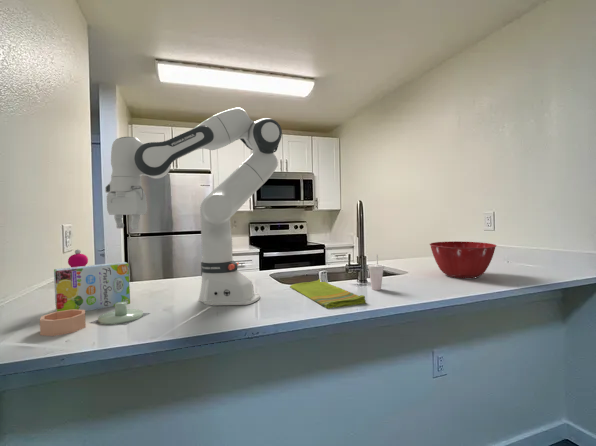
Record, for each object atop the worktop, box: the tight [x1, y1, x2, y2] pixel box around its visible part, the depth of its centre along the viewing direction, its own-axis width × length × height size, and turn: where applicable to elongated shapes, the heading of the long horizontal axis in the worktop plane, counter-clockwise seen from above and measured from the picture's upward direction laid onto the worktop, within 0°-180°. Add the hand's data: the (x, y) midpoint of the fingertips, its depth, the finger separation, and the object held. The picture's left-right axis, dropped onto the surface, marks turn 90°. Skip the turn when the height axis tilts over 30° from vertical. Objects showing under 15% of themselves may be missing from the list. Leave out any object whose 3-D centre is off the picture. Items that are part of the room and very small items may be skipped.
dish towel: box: [289, 278, 367, 309], centre depth 127 cm, size 15×36×3 cm, turn 22°
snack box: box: [53, 261, 131, 312], centre depth 112 cm, size 21×6×15 cm, turn 129°
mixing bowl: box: [429, 240, 497, 279], centre depth 157 cm, size 28×28×15 cm
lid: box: [97, 302, 144, 325], centre depth 100 cm, size 12×12×4 cm
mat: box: [89, 312, 151, 326], centre depth 100 cm, size 12×11×1 cm
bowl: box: [39, 309, 87, 337], centre depth 91 cm, size 10×10×4 cm
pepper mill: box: [67, 248, 89, 268], centre depth 118 cm, size 7×7×20 cm
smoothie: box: [367, 254, 385, 291], centre depth 133 cm, size 6×6×14 cm
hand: (126, 228), depth 109 cm, fingers open, 8 cm apart
